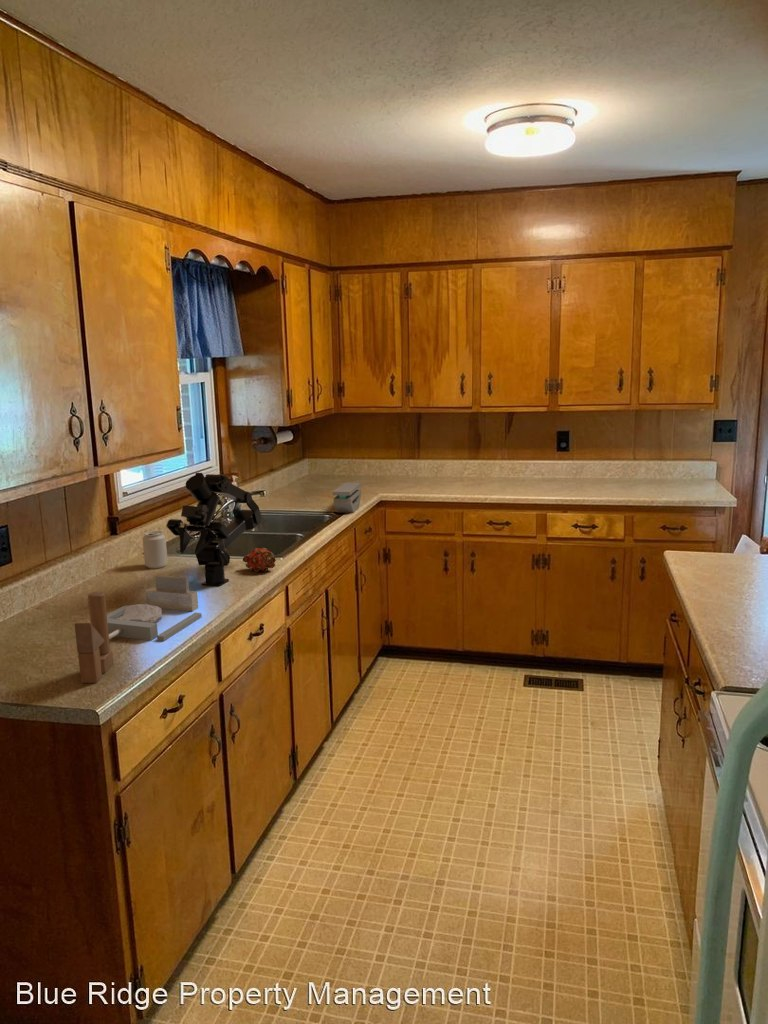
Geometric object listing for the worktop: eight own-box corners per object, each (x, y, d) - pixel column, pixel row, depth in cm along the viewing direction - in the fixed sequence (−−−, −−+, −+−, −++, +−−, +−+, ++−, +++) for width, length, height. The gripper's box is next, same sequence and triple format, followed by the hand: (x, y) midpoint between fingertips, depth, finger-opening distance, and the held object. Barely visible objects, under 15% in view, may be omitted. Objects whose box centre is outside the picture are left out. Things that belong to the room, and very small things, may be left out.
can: (149, 563, 260) (146, 530, 257) (170, 563, 260) (168, 529, 257) (141, 569, 253) (138, 535, 250) (163, 569, 252) (160, 535, 250)
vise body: (125, 609, 213) (123, 597, 212) (201, 617, 205) (200, 605, 205) (53, 647, 186) (51, 633, 185) (138, 657, 178) (136, 643, 178)
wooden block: (80, 683, 165) (72, 606, 161) (98, 663, 175) (91, 591, 172) (97, 683, 165) (89, 606, 161) (114, 663, 175) (107, 590, 172)
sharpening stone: (350, 516, 330) (349, 492, 328) (333, 515, 331) (332, 491, 329) (361, 504, 354) (361, 482, 352) (345, 504, 356) (345, 482, 353)
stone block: (163, 621, 208) (127, 616, 207) (165, 605, 207) (129, 600, 206) (153, 639, 197) (115, 633, 196) (156, 622, 196) (117, 616, 194)
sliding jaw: (153, 603, 217) (150, 574, 215) (198, 608, 213) (196, 578, 211) (147, 606, 215) (144, 577, 213) (192, 611, 210) (190, 581, 208)
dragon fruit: (277, 577, 246) (246, 579, 250) (283, 557, 252) (252, 560, 256) (266, 561, 240) (234, 564, 245) (273, 541, 246) (242, 544, 250)
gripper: (167, 493, 224) (148, 537, 217) (221, 495, 219) (204, 540, 211) (183, 513, 233) (166, 556, 225) (236, 516, 228) (220, 560, 220)
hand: (188, 552), depth 220 cm, fingers open, 5 cm apart
